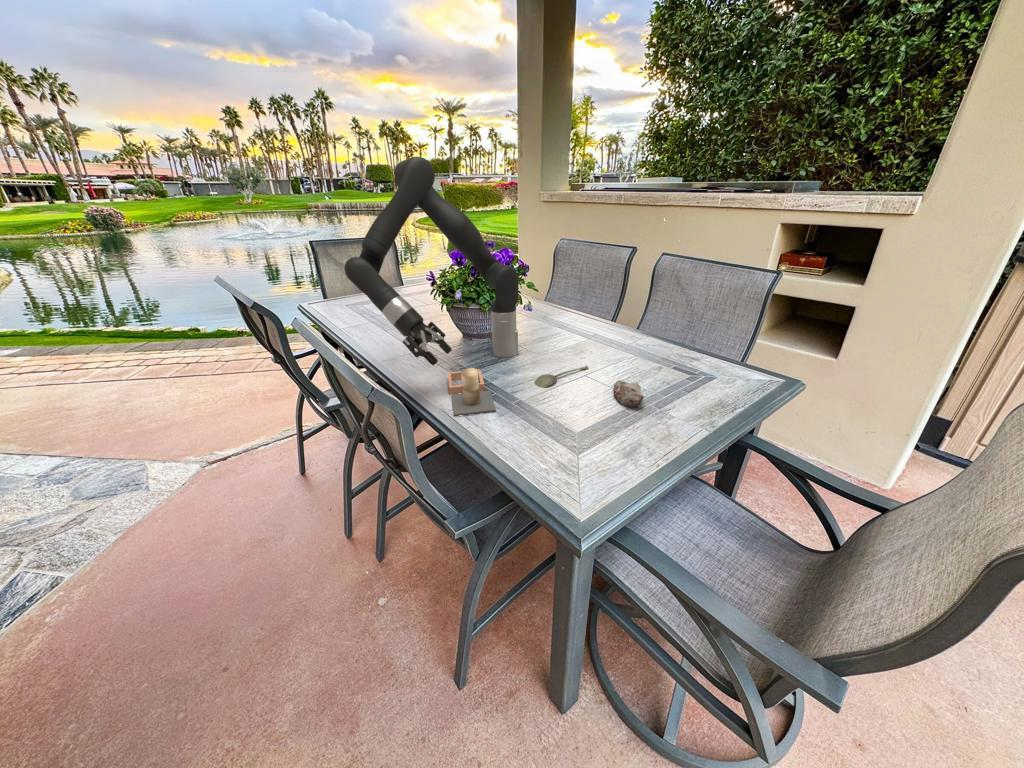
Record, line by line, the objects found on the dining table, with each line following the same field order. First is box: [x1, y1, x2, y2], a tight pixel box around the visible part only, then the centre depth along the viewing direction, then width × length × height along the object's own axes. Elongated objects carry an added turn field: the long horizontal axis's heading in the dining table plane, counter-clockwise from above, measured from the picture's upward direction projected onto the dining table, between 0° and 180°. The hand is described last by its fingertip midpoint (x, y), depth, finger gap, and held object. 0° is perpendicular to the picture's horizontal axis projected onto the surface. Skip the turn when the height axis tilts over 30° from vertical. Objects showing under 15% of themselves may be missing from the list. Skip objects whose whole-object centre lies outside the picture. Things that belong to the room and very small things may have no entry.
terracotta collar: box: [447, 368, 486, 395], centre depth 128 cm, size 11×11×2 cm
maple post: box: [461, 367, 480, 406], centre depth 115 cm, size 5×5×10 cm
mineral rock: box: [612, 380, 645, 409], centre depth 117 cm, size 15×8×4 cm, turn 171°
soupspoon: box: [534, 365, 589, 389], centre depth 132 cm, size 22×3×7 cm
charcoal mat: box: [451, 390, 497, 417], centre depth 117 cm, size 12×12×1 cm
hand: (443, 357), depth 113 cm, fingers open, 8 cm apart
